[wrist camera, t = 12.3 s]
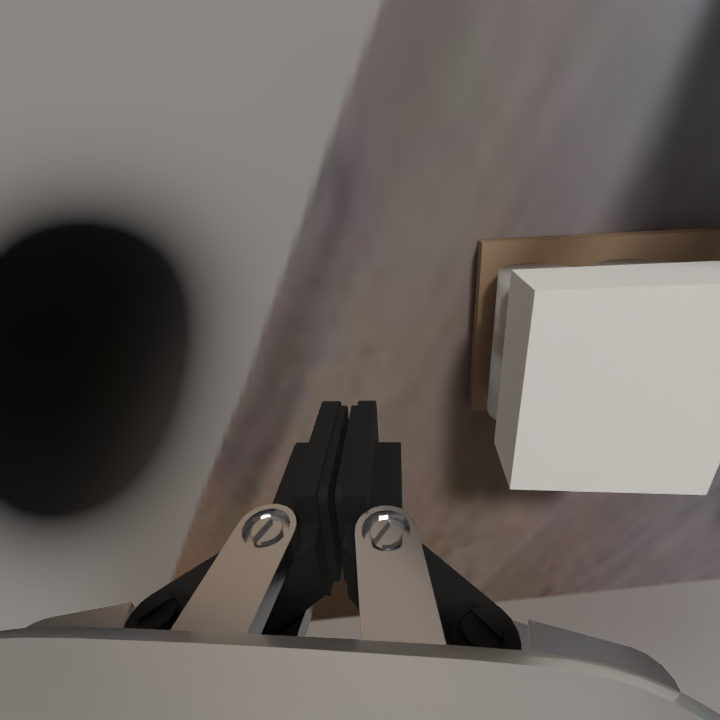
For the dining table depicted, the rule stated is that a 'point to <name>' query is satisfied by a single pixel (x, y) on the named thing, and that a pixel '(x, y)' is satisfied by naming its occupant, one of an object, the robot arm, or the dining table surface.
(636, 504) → the dining table surface
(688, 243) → the roller bed
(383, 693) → the robot arm
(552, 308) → the slab
